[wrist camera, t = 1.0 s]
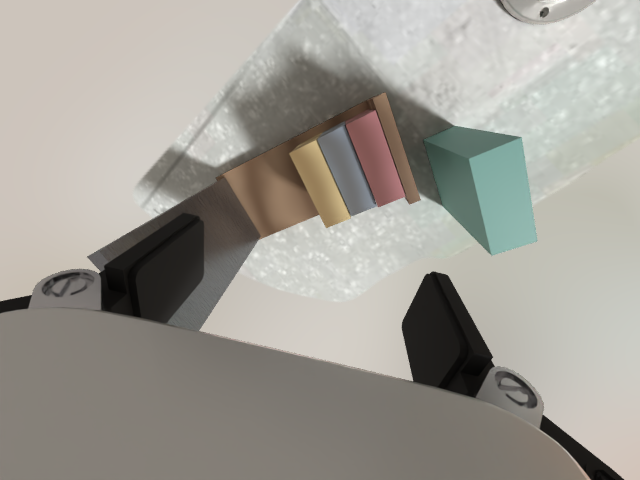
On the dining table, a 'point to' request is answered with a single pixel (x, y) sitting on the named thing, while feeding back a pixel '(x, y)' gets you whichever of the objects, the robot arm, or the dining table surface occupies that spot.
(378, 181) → the book rack
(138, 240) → the bookend
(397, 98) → the dining table surface
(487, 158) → the loose book
